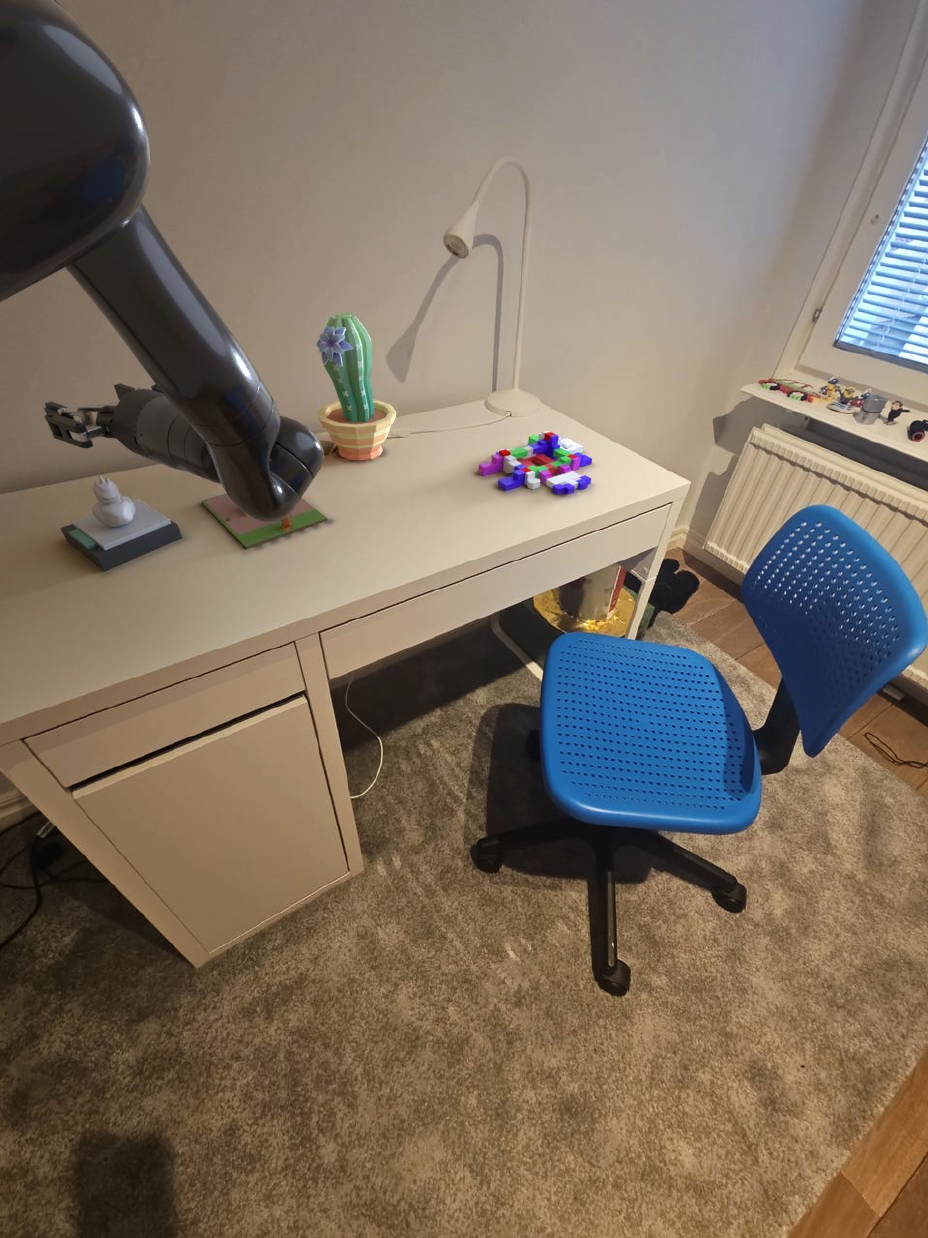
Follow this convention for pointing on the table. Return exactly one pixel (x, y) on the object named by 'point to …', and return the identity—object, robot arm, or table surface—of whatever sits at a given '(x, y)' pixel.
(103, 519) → the white sculpted piece
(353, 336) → the potted cactus
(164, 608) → the table surface
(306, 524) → the figurine
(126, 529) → the scale
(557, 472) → the building block set
